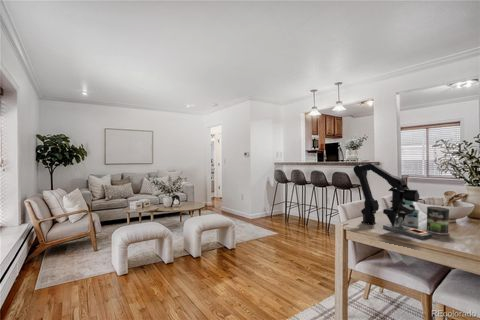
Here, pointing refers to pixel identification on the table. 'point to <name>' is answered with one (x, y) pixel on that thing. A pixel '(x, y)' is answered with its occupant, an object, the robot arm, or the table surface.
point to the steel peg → (398, 222)
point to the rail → (409, 231)
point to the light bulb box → (412, 219)
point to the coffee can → (438, 220)
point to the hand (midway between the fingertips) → (397, 224)
